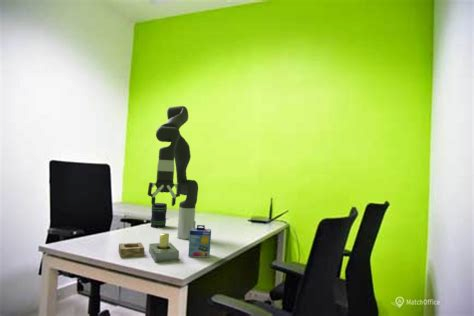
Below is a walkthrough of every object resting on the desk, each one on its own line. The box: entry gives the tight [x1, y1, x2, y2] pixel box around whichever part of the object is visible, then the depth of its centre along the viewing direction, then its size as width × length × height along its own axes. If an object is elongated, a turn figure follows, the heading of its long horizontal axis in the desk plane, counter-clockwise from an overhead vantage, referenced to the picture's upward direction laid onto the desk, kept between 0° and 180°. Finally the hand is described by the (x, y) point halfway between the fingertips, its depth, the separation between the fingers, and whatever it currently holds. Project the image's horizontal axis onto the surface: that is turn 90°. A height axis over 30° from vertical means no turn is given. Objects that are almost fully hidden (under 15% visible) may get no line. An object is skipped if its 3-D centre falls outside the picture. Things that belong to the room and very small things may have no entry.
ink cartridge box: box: [187, 224, 212, 259], centre depth 146 cm, size 10×6×14 cm, turn 95°
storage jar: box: [150, 202, 168, 229], centre depth 208 cm, size 10×10×15 cm
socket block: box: [118, 242, 145, 258], centre depth 144 cm, size 10×10×4 cm
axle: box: [158, 232, 170, 249], centre depth 142 cm, size 4×4×10 cm
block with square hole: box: [148, 242, 180, 263], centre depth 142 cm, size 10×16×4 cm, turn 25°
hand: (163, 205), depth 143 cm, fingers open, 8 cm apart
